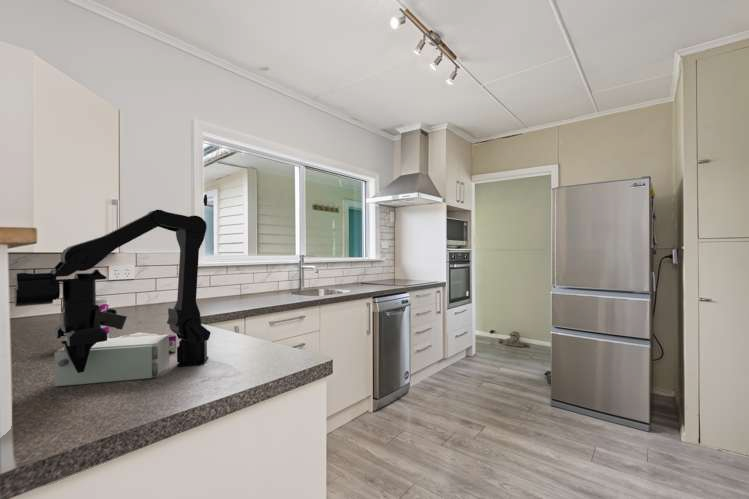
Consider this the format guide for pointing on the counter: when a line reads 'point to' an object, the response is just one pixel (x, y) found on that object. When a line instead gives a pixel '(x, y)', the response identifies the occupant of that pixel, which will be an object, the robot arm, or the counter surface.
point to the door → (108, 365)
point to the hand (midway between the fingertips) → (80, 372)
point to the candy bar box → (171, 338)
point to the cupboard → (155, 340)
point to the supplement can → (103, 306)
